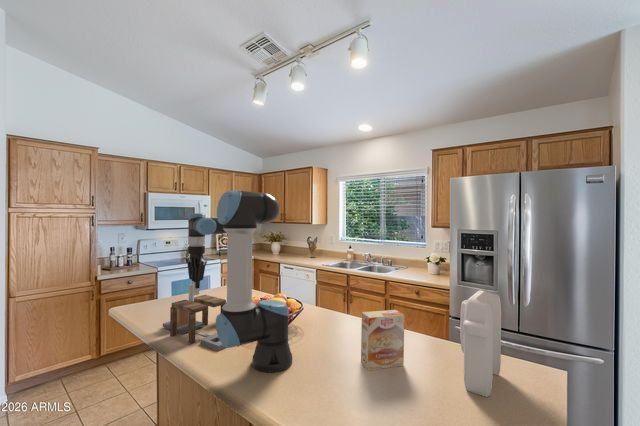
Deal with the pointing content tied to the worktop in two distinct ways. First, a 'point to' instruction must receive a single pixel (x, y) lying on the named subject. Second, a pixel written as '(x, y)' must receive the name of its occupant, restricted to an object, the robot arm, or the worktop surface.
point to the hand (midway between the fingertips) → (195, 294)
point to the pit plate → (213, 342)
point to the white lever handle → (184, 318)
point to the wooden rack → (193, 313)
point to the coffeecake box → (382, 339)
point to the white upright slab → (481, 341)
